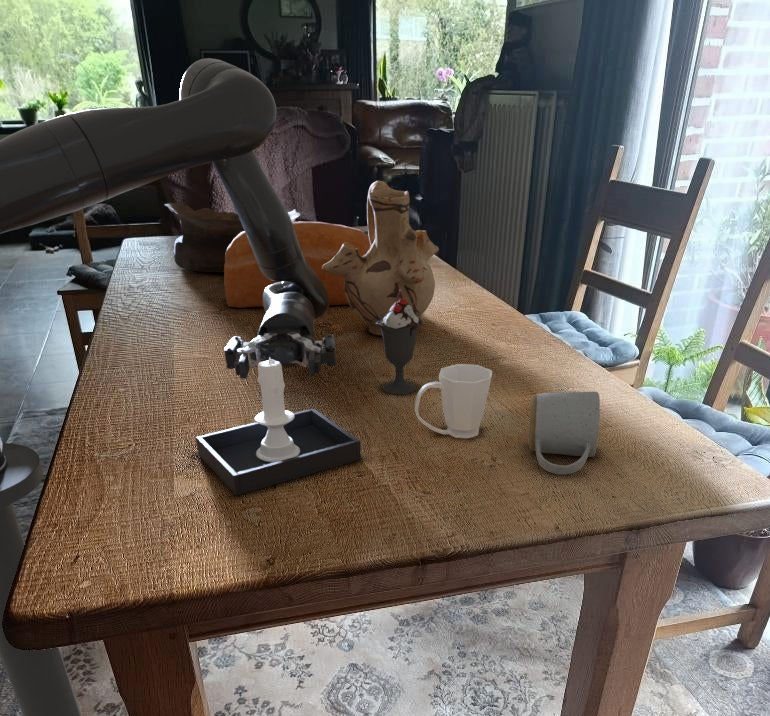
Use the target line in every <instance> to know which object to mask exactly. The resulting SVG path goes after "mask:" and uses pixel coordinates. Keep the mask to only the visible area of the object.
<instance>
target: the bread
mask: <svg viewBox="0 0 770 716" xmlns="http://www.w3.org/2000/svg"><path fill="white" fill-rule="evenodd" d="M292 223H293V226H294V229H295V232H296V235H297V238H298V241H299V244H300V247H301V250H302V253H303V255H304V257H305V259H306V260H307V262H308V263H309V265H310V266H311V268H312V269H313V271H314V272H315V273H316V275H317V276H318V277H319V279H320V280H321V281H322V283H323V285H324V286H325V288H326V291H327V293H328V297H329V306H339V305H341V306H343V305H344V306H345V305H349V303H348V301H347V298H346V295H345V291H344V277H342V276H337V275H333V274H329V273H325V272H324V271H323V270H322V266H323V265H324V264H325V263H328V262H329V261H330V260H332V259H333V258H334V256H335V255H336V254H337V253H338V252H339V250H340V249H341V247H342V245H343V243H344V242H348V243H350V244H351V245H352V246H353V247H354V248H357V250H358V253H359V255H361V256H364V255H365V254H366V253H367V252H368V250H369V249H370V247H371V245H370V241H369V237H368V236H367V235H366V234H365V233H364V232H365V231H363V230H362V229H360V228H354V227H350V226H346V225H343V224H336V223H329V222H322V221H293V222H292ZM223 280H224V281H223V282H224V292H225V301H226V305H227V306H228V307H230V308H238V309H239V308H264V306H263V293H264V290H265V289H266V288H267V287H268V286H270V285H271V284H274V283H277V282H281V281H272V280H269V279H267V278H266V277H265V276H264V275H263V274H262V272H261V270H260V268H259V266H258V263H257V261H256V258H255V256H254V253H253V251H252V248H251V246H250V243H249V240H248V238H247V235H246V233H245V231H243V232H241V233H240V234H239V235H238V236H236V237H235V238H234V239H233V241H232V242H231V244H230V245H229V246H228V248H227V250H226V253H225V265H224V272H223ZM282 282H283V281H282Z"/></svg>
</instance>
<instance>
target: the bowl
mask: <svg viewBox="0 0 770 716" xmlns="http://www.w3.org/2000/svg"><path fill="white" fill-rule="evenodd" d="M163 205H164V206H165V207H167V209H168V210H169V211H170V212H172V213H175V214H176V215H177V216H178V219H179V223H180V234H182V235H180V236H177V237H176V239H175V240H174V252H173V257H174V262H175V264H176V265H177V266H178V267H179V268H180V269H185V270H188V271H191V272H203V273H224V265H225V253H226V250H227V248H228V246H229V245H230V244H231V242H232V241H233V239H234V238H235V237H236V236H238V235H239V234H240V233H241V232H243V231H245V230H244V228H243V225H242V223H241V221H240V218H239V216H238V214H237V212H234V211H232V212H231V211H230V212H227V211H225V210H224V211H220V212H219V211H218V212H216V211H215V210H214V209H213V208H212V209H211V208H208V207H203V208H199V209H196V210H194V209H193V208H192V207H190V206H189V205H182V204H177V203H174V202H168V203H164V204H163ZM287 212H288V214H289V216H290V218H291V221H292V222H295V221H296V219H297V218H298V217H299V216H301V213H300V211H299V212H297V210H296V208H295V209H293V210H291V211H287Z"/></svg>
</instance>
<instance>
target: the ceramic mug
mask: <svg viewBox="0 0 770 716" xmlns="http://www.w3.org/2000/svg"><path fill="white" fill-rule="evenodd" d="M600 399H601V397H600V393H599V392H598V391H577V392H576V391H575V392H574V391H573V392H568V391H567V392H543V393H538V394H534V395H533V396H532V397H530V404H529V423H528V440H527V441H528V442H527V448H529V449H530V450H531V451H533V452H535V456H536V459H537V462H538V464H539V466H540V467H541V468H542V469H543V470H545V471H547V472H549V473H550V474H554V475H561V476H562V475H563V476H565V475H571V474H575V473H576V472H578V471H580V470H581V469H582V468H583V467H584V465H585V464H586V462H587V460H588V458H593V457H595V455H596V453H597V447H598V443H599V432H600V421H601V420H600V417H601V400H600ZM543 454H551V455H553V454H554V455H562V456H563V455H564V456H574V457H580V458H579V459H577V460H576V461H574V462H573V463H570V464H567V465H563V464H555V463H552V462H550V461H549V460H547V459H546V458H545V457H544V455H543Z"/></svg>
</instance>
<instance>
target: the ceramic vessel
mask: <svg viewBox="0 0 770 716" xmlns="http://www.w3.org/2000/svg"><path fill="white" fill-rule="evenodd" d="M410 200H411V199H410V192H409V191H408V190H406V191H405V190H398V189H393V188H392V187H389V185H388V183H386V182H385V181H383V180H376V181H374V182H372V183H371V184H370V186H369V189H368V191H367V201H366V221H367V231H368V236H369V241H370V245H371V247H370V249H369V250H368V252H367V253H366V254H365V255H364V256H361V255H359V253H358V250H357V248H354V247H353V246H352V245H351V244H350V243H348V242H344V243H343V245H342V247H341V249H340V250H339V252H338V253H337V254H336V255H335V256H334V258H333V259H332V260H330V261H329V262H328V263H325V264H324V265H323V266H322V270H323V271H324V272H325V273H329V274H333V275H337V276H342V277H344V291H345V295H346V298H347V301H348V303H349V304H348V305H349V307H350V308H351V310H352V312H353V313H354V314H355V315H356V316H357V318H360V319H362V320H363V321H365V322H367V323H368V332H369V333H371V334H372V335H376V336H381V337H383V336H382V331H381V328H380V326H379V325H377V324H376V322H377V321H378V320H379V319H381V318H382V317H385V316H386V315H387V314H388V313H389V310H390V308H391V307H392V305H393V304H394V303H396V299H397V296H398V294H399V293H398V292H399V291H400V290H401V293H400V296H401V298H402V299H406V301H407V303H408V304H409V305H410V306H411V307H412V308H414V309H415V311H414V314H415V315H417V317H418V318H421V316H423V315H424V313H425V312H426V311H427V309H428V308H429V306H430V304H431V303H432V300H433V298H434V295H435V289H436V281H435V276H434V272H433V269H432V267H431V265H430V264H429V260H430V258H432V257H433V256H434V255H435V254H436V253H438V252H439V251H440V249H439V246H438V245H435V244H434V243H433V242H432V241H431V240H430V238H429V236H428V232H427V230H423V229H418V230H414V229H413V228H412V227H411V224H410V202H411V201H410ZM400 296H398V300H397V302H399V300H400V299H401V298H400Z"/></svg>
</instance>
